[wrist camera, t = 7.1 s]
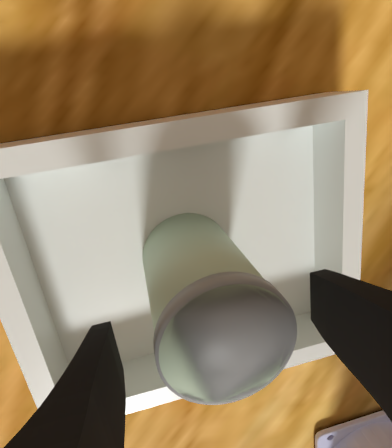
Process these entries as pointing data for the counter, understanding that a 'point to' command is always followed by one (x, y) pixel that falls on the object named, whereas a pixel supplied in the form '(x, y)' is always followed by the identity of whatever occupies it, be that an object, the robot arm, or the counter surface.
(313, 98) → the bin
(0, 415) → the counter surface
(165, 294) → the tin
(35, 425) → the robot arm
